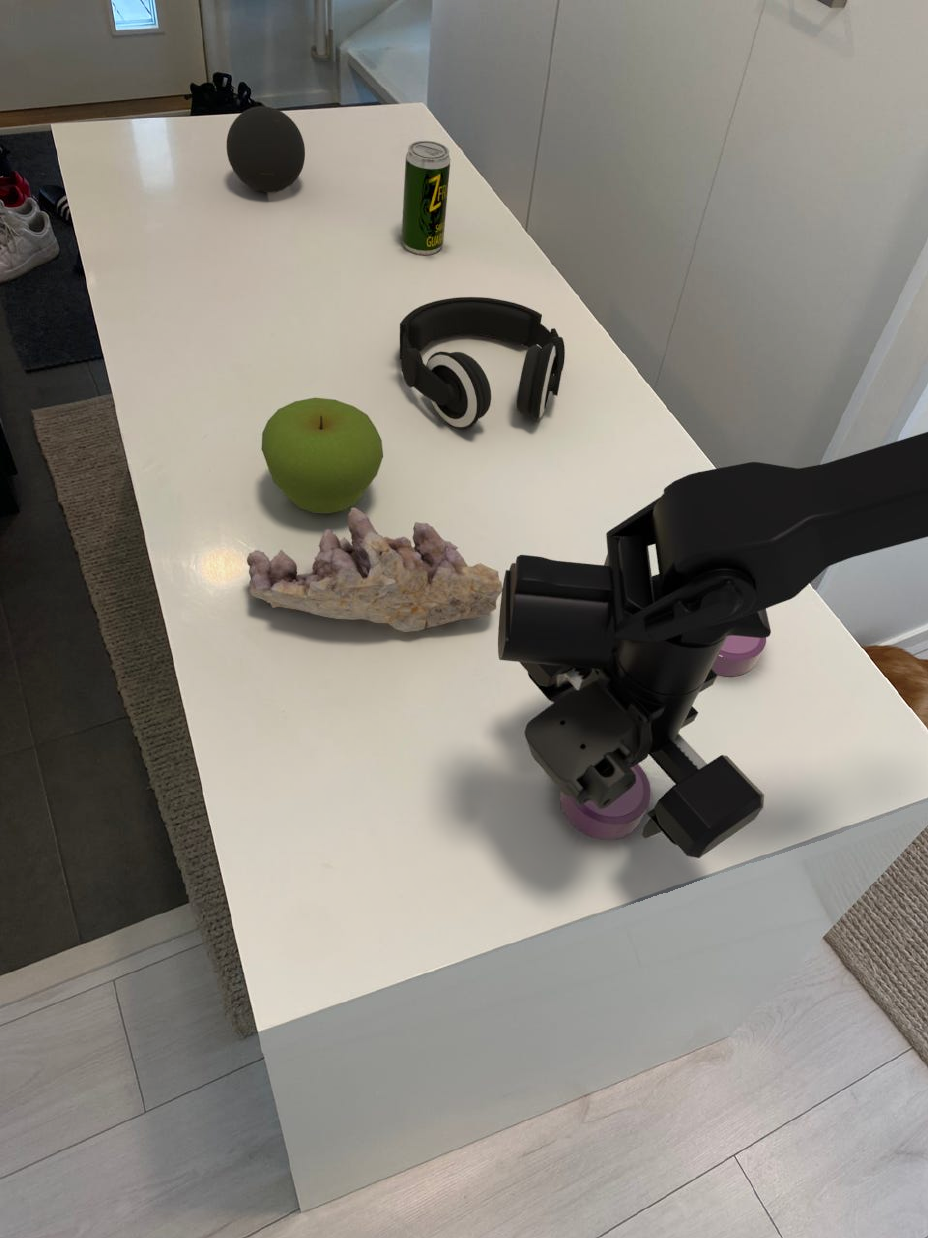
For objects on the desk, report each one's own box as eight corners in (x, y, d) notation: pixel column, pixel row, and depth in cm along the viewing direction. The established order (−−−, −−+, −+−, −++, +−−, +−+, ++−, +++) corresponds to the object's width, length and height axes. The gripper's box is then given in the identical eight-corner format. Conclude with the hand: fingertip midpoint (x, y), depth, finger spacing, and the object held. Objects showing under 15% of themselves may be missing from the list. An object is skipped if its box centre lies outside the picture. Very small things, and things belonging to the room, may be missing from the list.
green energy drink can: (393, 246, 119) (397, 150, 110) (415, 229, 122) (421, 135, 113) (429, 260, 118) (436, 164, 109) (450, 243, 121) (459, 149, 112)
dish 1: (660, 813, 71) (669, 797, 69) (596, 855, 68) (603, 840, 66) (606, 751, 74) (613, 734, 72) (542, 788, 71) (548, 772, 69)
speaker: (214, 187, 124) (206, 108, 117) (264, 163, 130) (259, 86, 122) (272, 214, 121) (267, 134, 114) (321, 188, 127) (320, 110, 119)
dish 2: (772, 657, 82) (782, 640, 80) (720, 688, 79) (730, 670, 77) (721, 609, 85) (729, 591, 83) (669, 636, 82) (677, 618, 80)
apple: (402, 502, 90) (408, 419, 82) (319, 555, 84) (317, 471, 76) (326, 445, 94) (326, 361, 86) (242, 492, 88) (233, 406, 81)
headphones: (432, 378, 89) (380, 286, 102) (428, 448, 94) (379, 352, 107) (603, 362, 93) (531, 276, 107) (589, 430, 99) (523, 340, 112)
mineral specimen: (252, 631, 71) (258, 499, 70) (241, 616, 80) (247, 500, 79) (504, 640, 77) (513, 519, 76) (466, 625, 87) (474, 517, 86)
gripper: (468, 606, 58) (446, 741, 70) (670, 841, 49) (605, 950, 61) (603, 543, 63) (561, 679, 75) (809, 747, 54) (724, 865, 66)
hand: (606, 785), depth 69 cm, fingers open, 9 cm apart
